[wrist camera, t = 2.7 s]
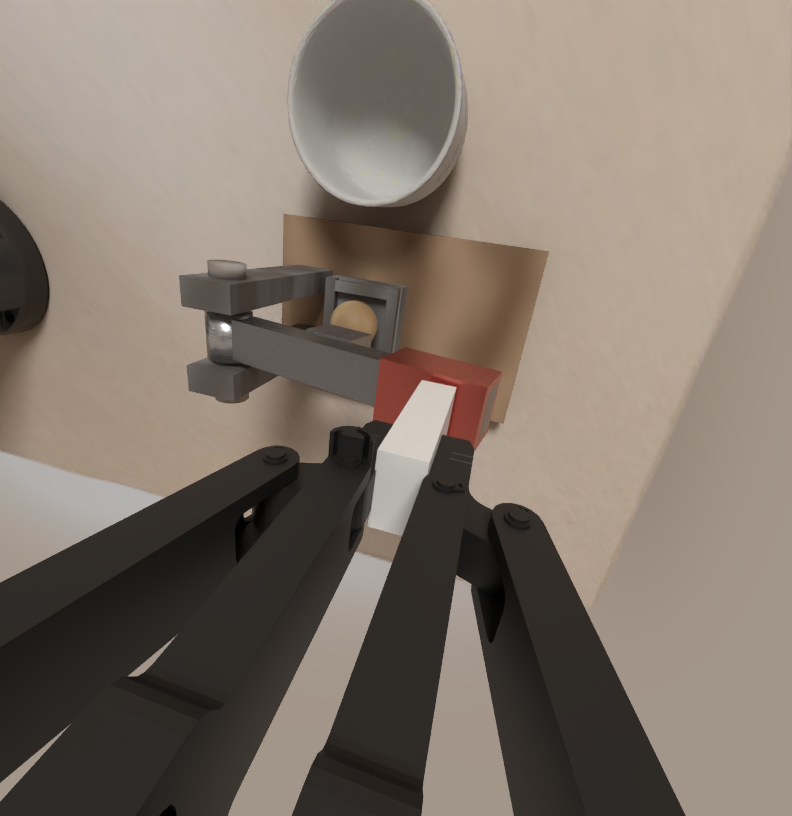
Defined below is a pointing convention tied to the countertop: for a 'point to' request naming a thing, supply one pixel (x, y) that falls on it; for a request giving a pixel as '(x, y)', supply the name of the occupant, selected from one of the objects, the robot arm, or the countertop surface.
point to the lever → (355, 368)
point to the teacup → (378, 101)
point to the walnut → (355, 317)
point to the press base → (380, 297)
